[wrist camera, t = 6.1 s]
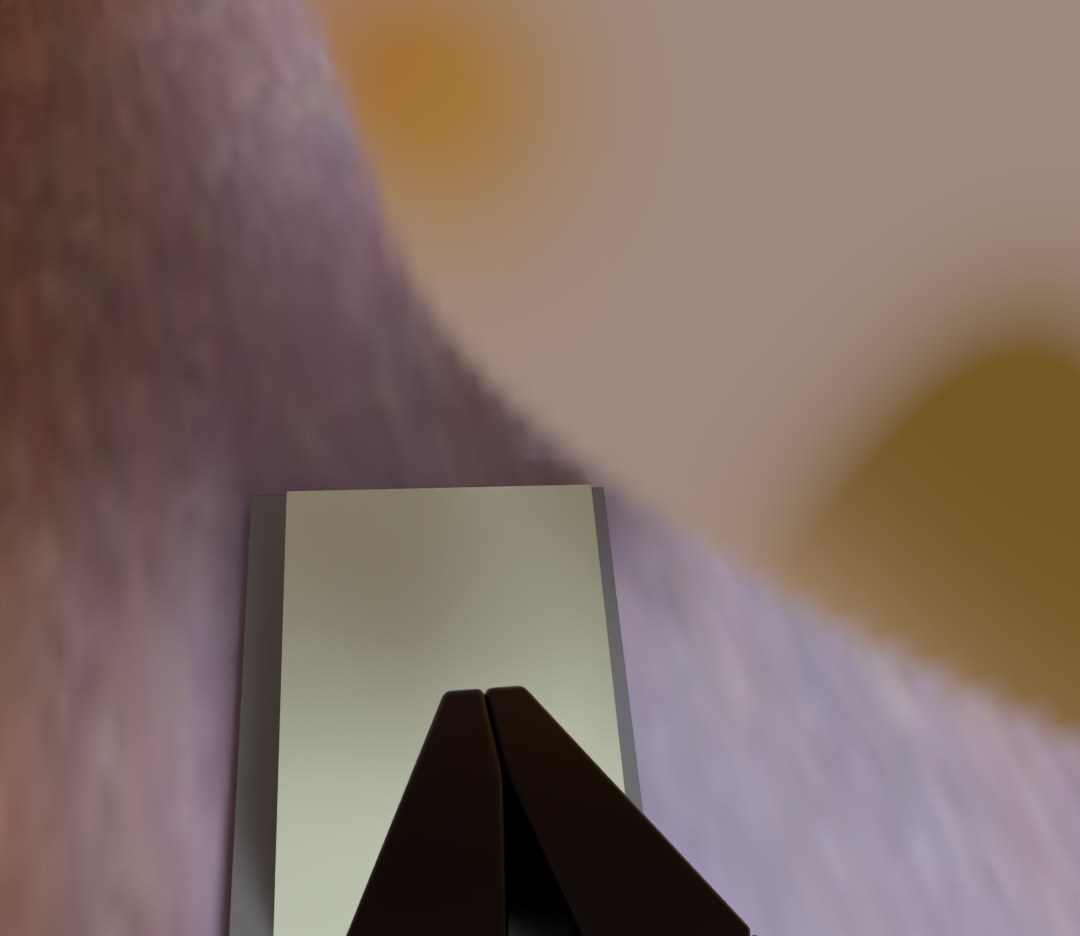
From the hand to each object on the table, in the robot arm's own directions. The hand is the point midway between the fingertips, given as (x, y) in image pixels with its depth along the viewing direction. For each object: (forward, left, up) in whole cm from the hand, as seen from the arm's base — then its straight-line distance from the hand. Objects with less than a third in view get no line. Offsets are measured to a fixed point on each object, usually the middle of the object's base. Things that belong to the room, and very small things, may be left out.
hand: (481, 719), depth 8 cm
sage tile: (+2, +3, -5) cm, 6 cm away
